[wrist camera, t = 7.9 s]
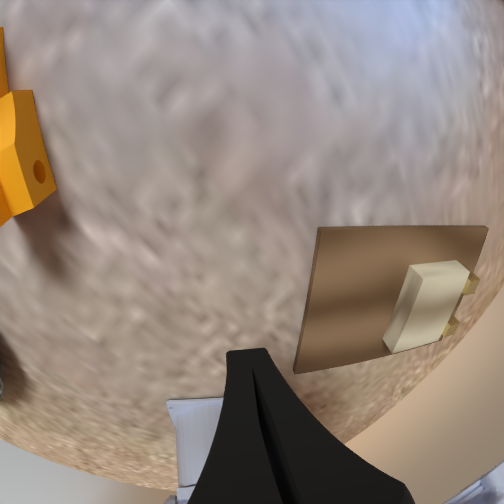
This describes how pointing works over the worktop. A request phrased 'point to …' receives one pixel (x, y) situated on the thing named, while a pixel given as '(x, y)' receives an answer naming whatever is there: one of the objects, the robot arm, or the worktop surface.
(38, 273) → the worktop surface
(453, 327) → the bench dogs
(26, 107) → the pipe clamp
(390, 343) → the ivory block
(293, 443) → the robot arm
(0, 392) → the pie
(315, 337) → the bench board
